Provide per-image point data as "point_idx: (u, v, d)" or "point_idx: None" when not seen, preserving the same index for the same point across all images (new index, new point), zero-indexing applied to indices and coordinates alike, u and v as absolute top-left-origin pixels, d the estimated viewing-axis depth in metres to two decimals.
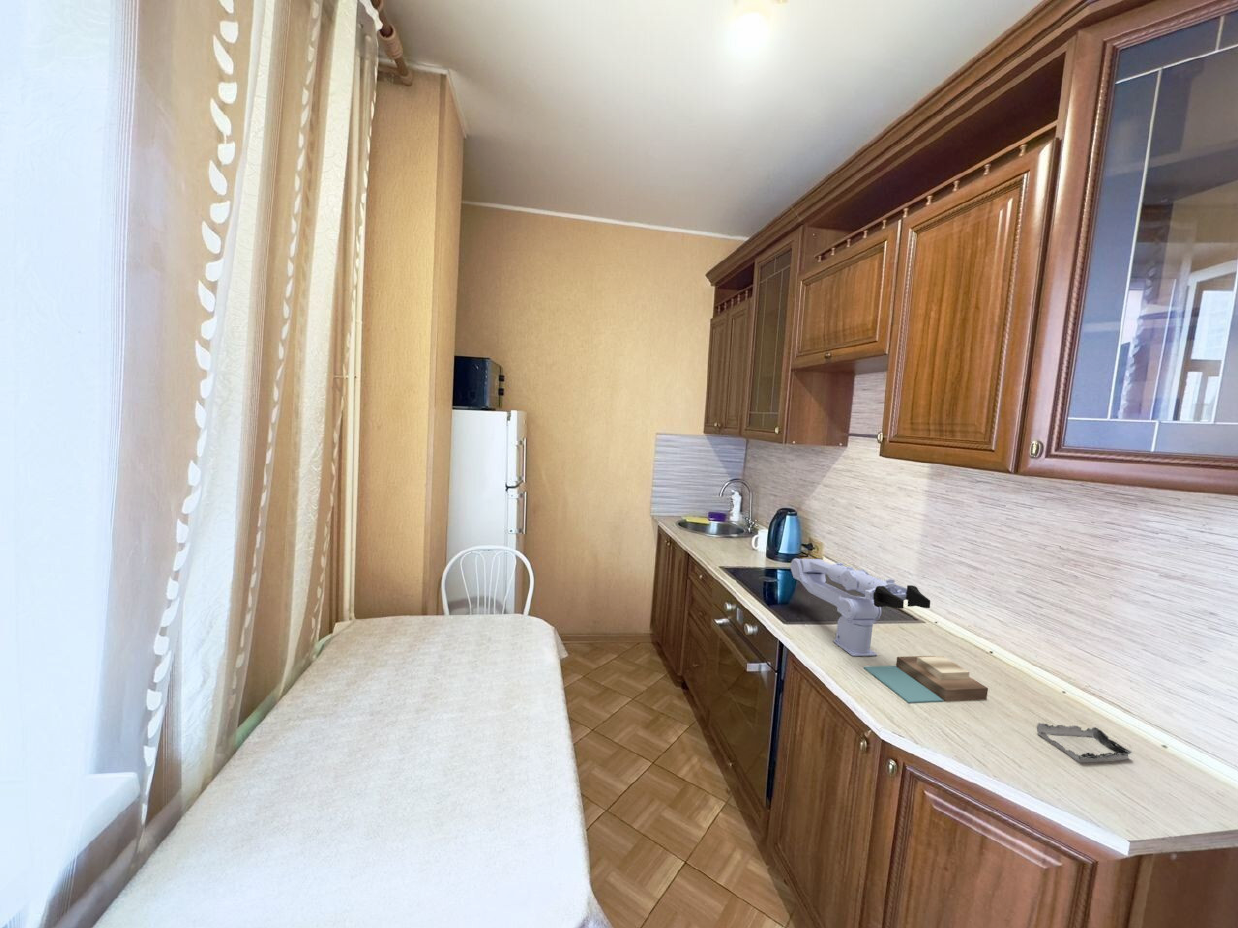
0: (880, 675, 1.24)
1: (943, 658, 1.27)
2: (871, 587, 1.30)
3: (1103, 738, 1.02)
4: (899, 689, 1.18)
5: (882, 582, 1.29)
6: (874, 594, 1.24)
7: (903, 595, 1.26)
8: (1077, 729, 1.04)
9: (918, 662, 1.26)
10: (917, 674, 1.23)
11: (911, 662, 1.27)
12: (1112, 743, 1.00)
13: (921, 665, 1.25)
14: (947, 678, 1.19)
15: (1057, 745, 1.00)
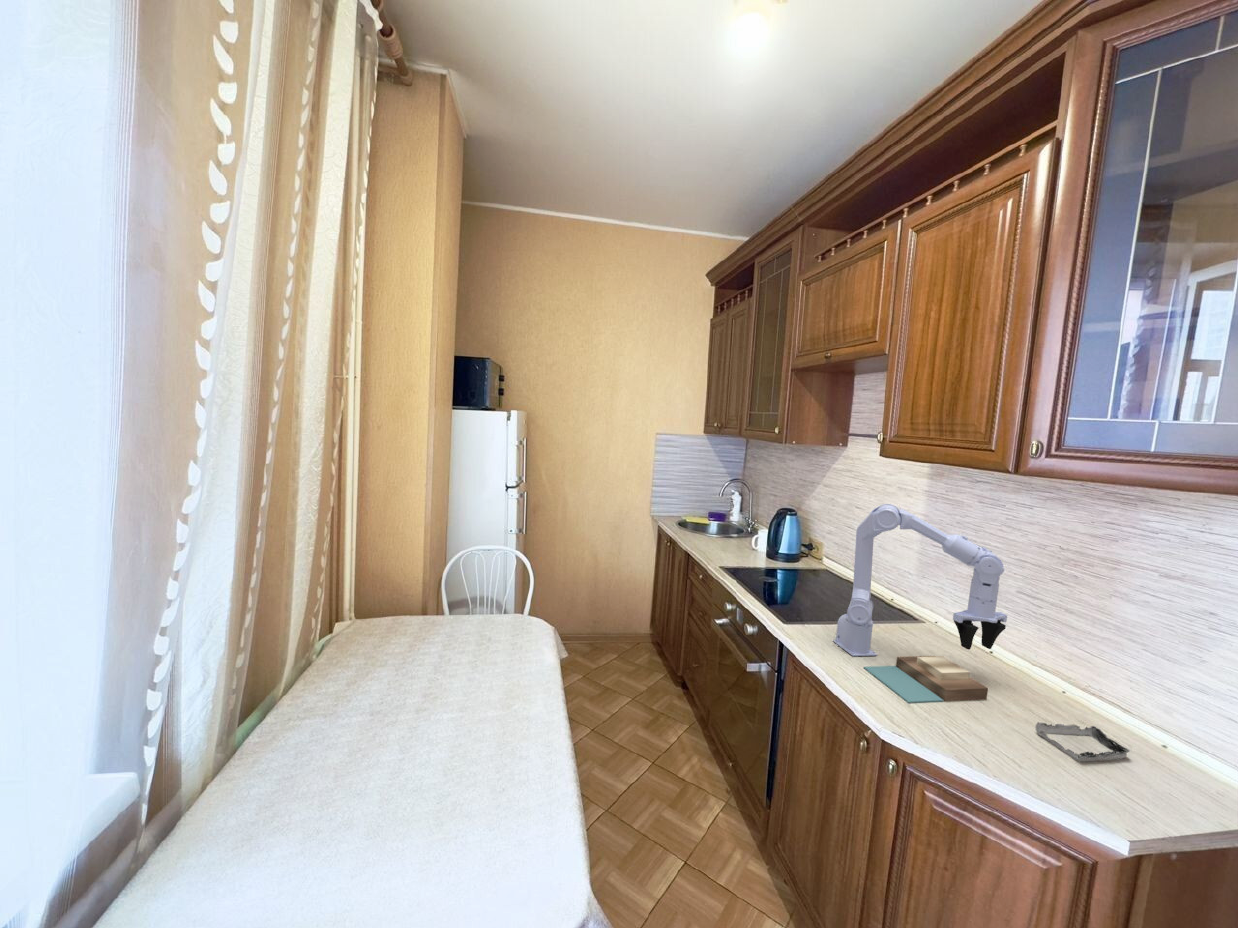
0: (880, 675, 1.24)
1: (943, 658, 1.27)
2: (975, 602, 1.22)
3: (1101, 736, 1.03)
4: (899, 689, 1.18)
5: (987, 613, 1.21)
6: (962, 622, 1.22)
7: None
8: (1076, 728, 1.05)
9: (918, 662, 1.26)
10: (917, 674, 1.23)
11: (911, 662, 1.27)
12: (1110, 742, 1.01)
13: (921, 665, 1.25)
14: (947, 678, 1.19)
15: (1056, 744, 1.00)
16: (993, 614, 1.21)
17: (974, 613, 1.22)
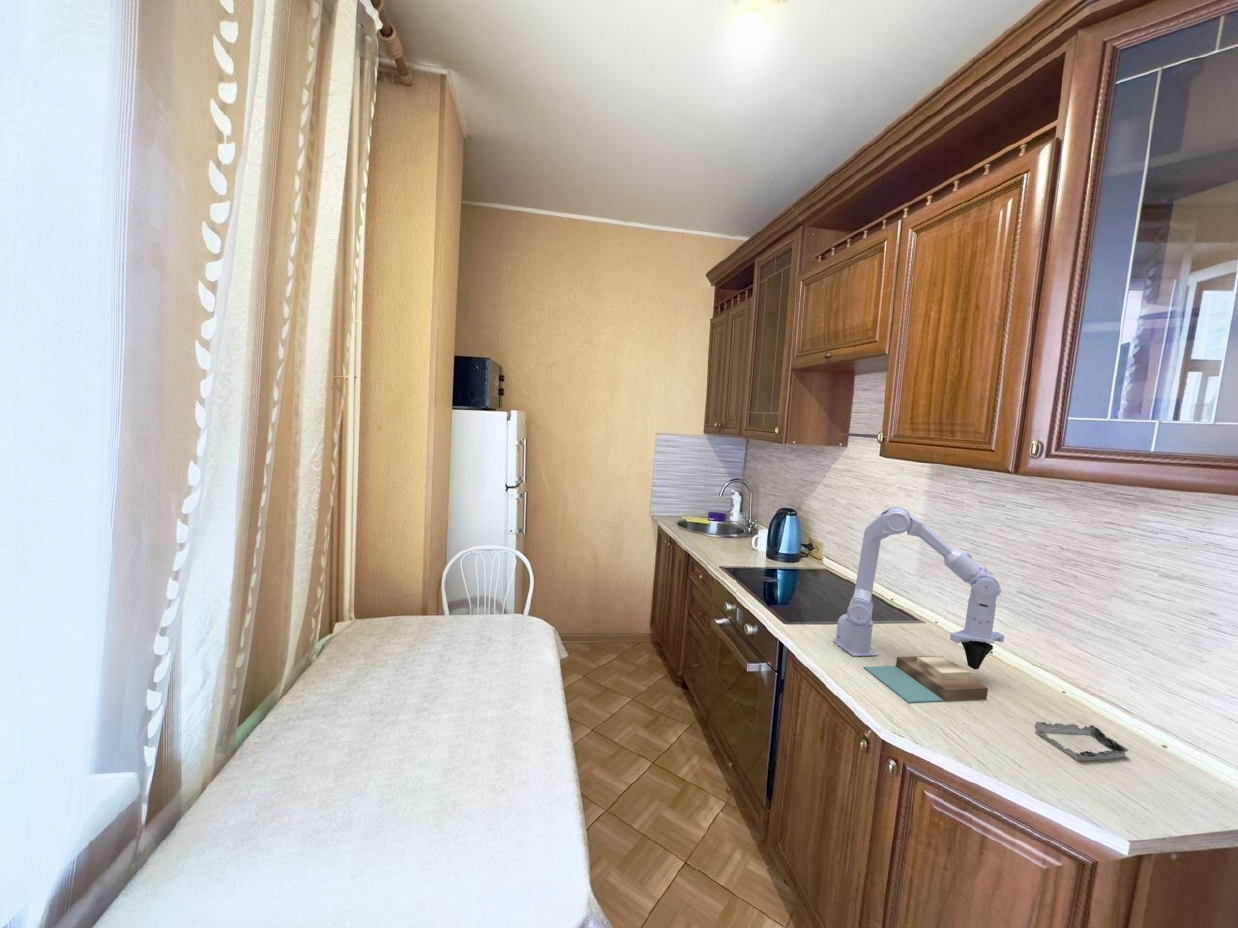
0: (880, 675, 1.24)
1: (943, 658, 1.27)
2: (972, 623, 1.23)
3: (1100, 736, 1.03)
4: (899, 689, 1.18)
5: (984, 633, 1.21)
6: (969, 642, 1.23)
7: None
8: (1074, 727, 1.05)
9: (918, 662, 1.26)
10: (917, 674, 1.23)
11: (911, 662, 1.27)
12: (1109, 741, 1.01)
13: (921, 665, 1.25)
14: (947, 678, 1.19)
15: (1055, 743, 1.00)
16: (990, 635, 1.22)
17: (971, 633, 1.23)
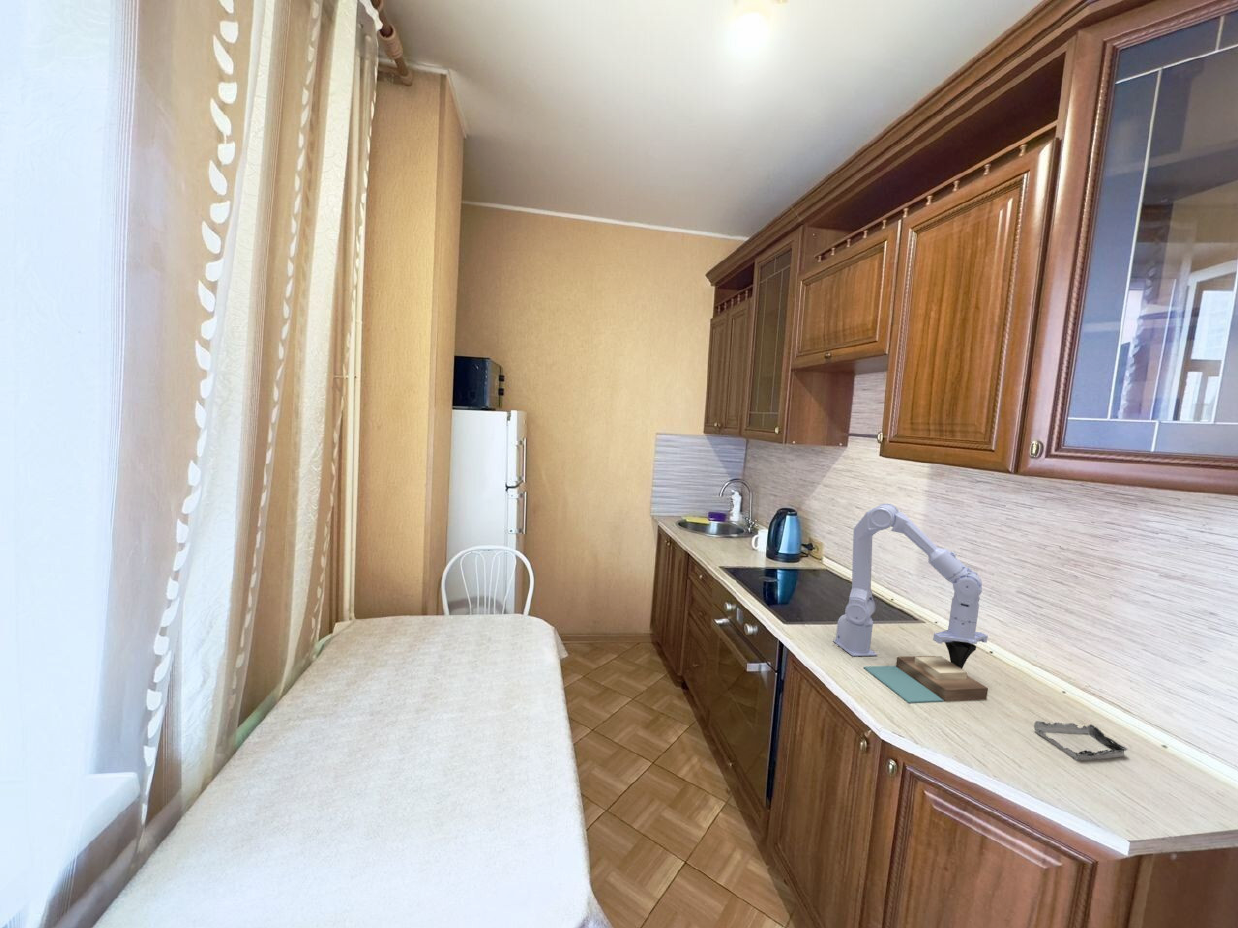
0: (880, 675, 1.24)
1: (941, 658, 1.26)
2: (955, 623, 1.22)
3: (1098, 735, 1.03)
4: (899, 689, 1.18)
5: (967, 633, 1.20)
6: (952, 643, 1.23)
7: None
8: (1073, 726, 1.05)
9: (916, 662, 1.26)
10: (917, 674, 1.23)
11: (911, 662, 1.27)
12: (1108, 740, 1.01)
13: (919, 665, 1.25)
14: (945, 678, 1.19)
15: (1054, 743, 1.01)
16: (973, 635, 1.21)
17: (954, 634, 1.22)
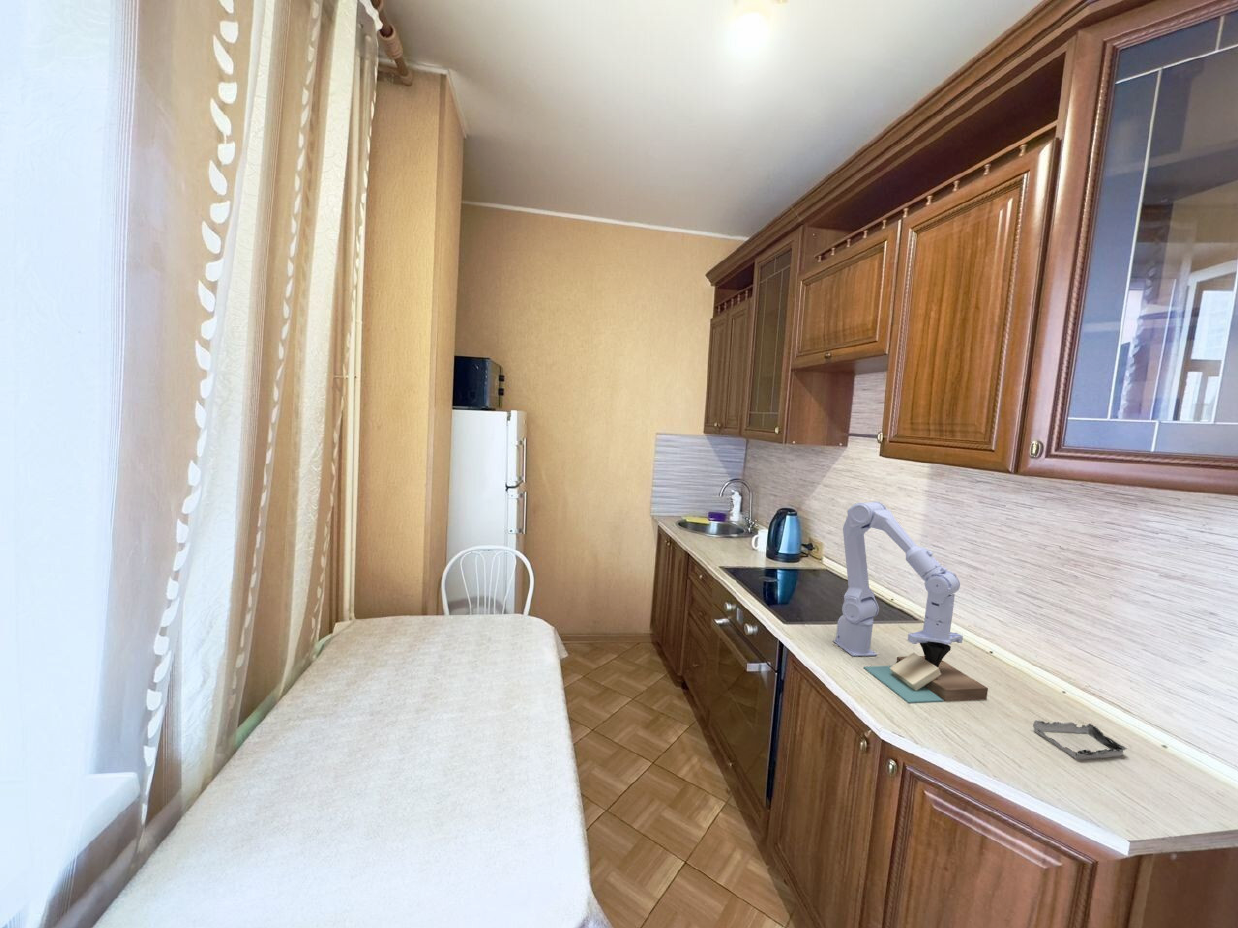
0: (880, 675, 1.24)
1: (914, 656, 1.25)
2: (930, 623, 1.21)
3: (1097, 734, 1.03)
4: (899, 689, 1.18)
5: (941, 634, 1.19)
6: (927, 643, 1.21)
7: None
8: (1073, 725, 1.05)
9: (892, 672, 1.25)
10: None
11: None
12: (1107, 739, 1.01)
13: (896, 675, 1.24)
14: (920, 685, 1.18)
15: (1054, 742, 1.01)
16: (947, 635, 1.19)
17: (929, 634, 1.21)
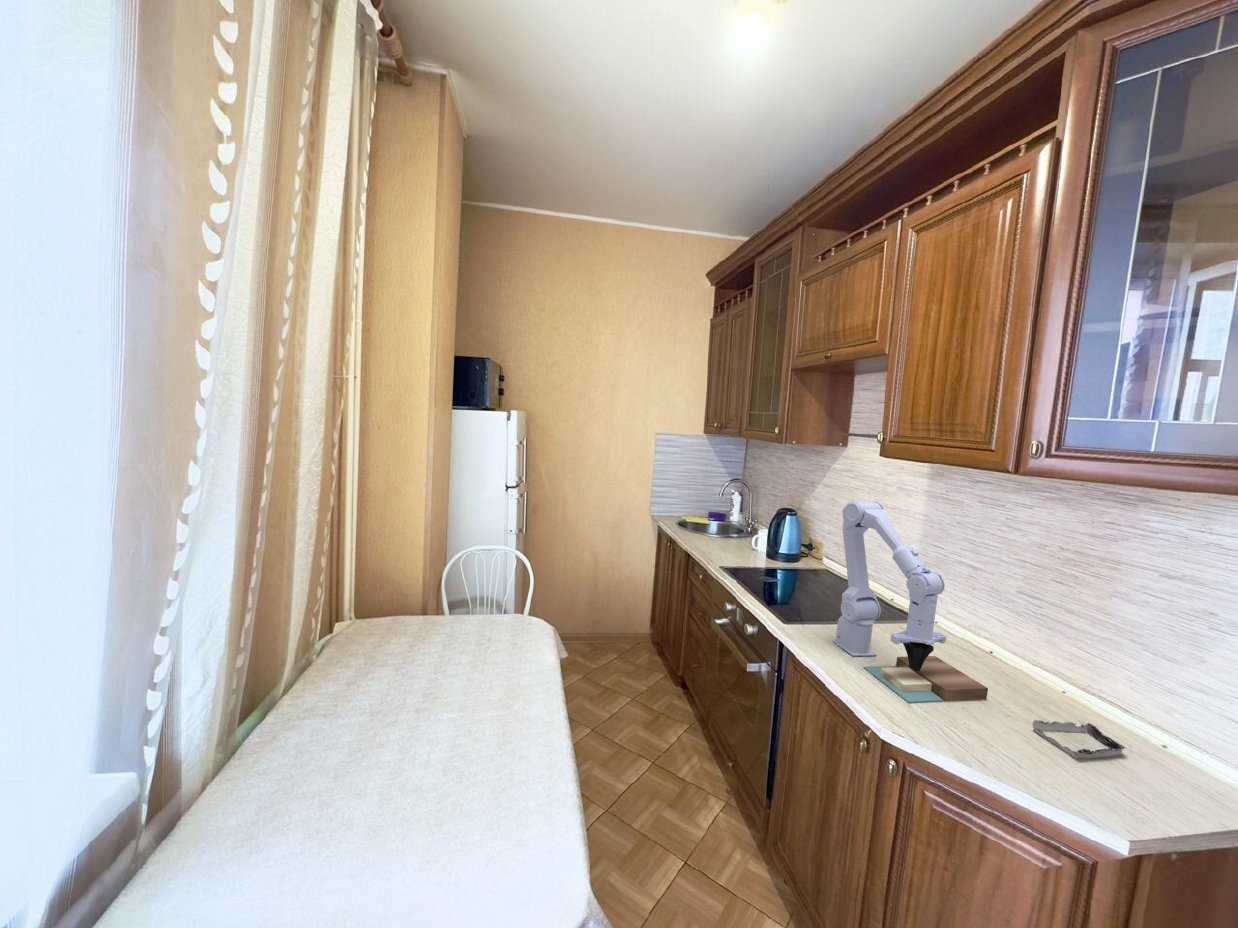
0: (880, 675, 1.24)
1: (907, 669, 1.25)
2: (913, 624, 1.20)
3: (1096, 733, 1.04)
4: None
5: (924, 634, 1.18)
6: (910, 644, 1.20)
7: None
8: (1072, 725, 1.06)
9: (882, 673, 1.24)
10: None
11: None
12: (1106, 739, 1.02)
13: (884, 676, 1.23)
14: (909, 690, 1.17)
15: (1053, 742, 1.01)
16: (930, 636, 1.19)
17: (911, 634, 1.20)
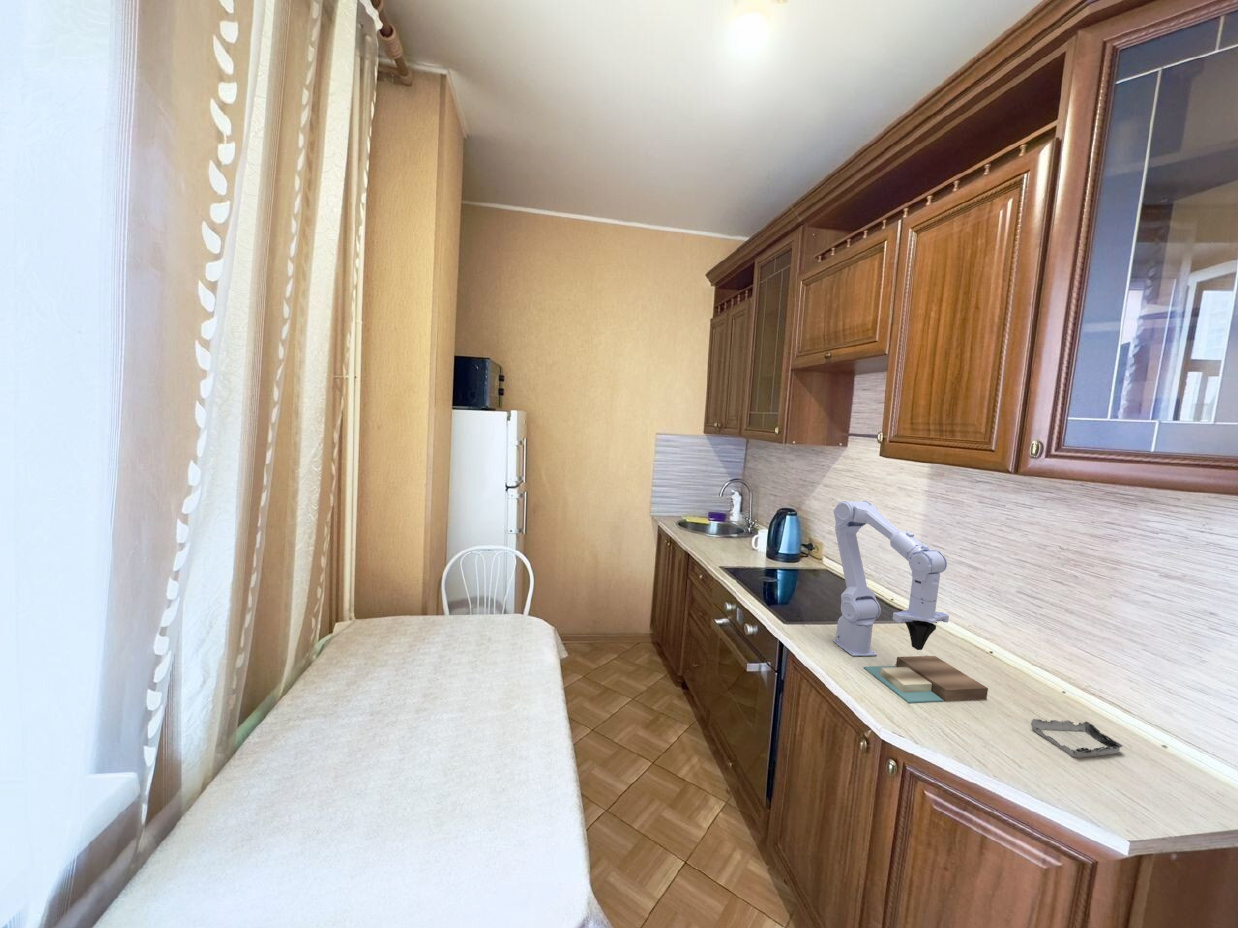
0: (880, 675, 1.24)
1: (907, 669, 1.25)
2: (915, 602, 1.20)
3: (1094, 732, 1.04)
4: None
5: (926, 612, 1.18)
6: (912, 622, 1.20)
7: None
8: (1069, 723, 1.06)
9: (882, 673, 1.24)
10: None
11: (911, 662, 1.27)
12: (1103, 737, 1.02)
13: (884, 676, 1.23)
14: (909, 690, 1.17)
15: (1052, 740, 1.01)
16: (933, 614, 1.18)
17: (914, 613, 1.20)
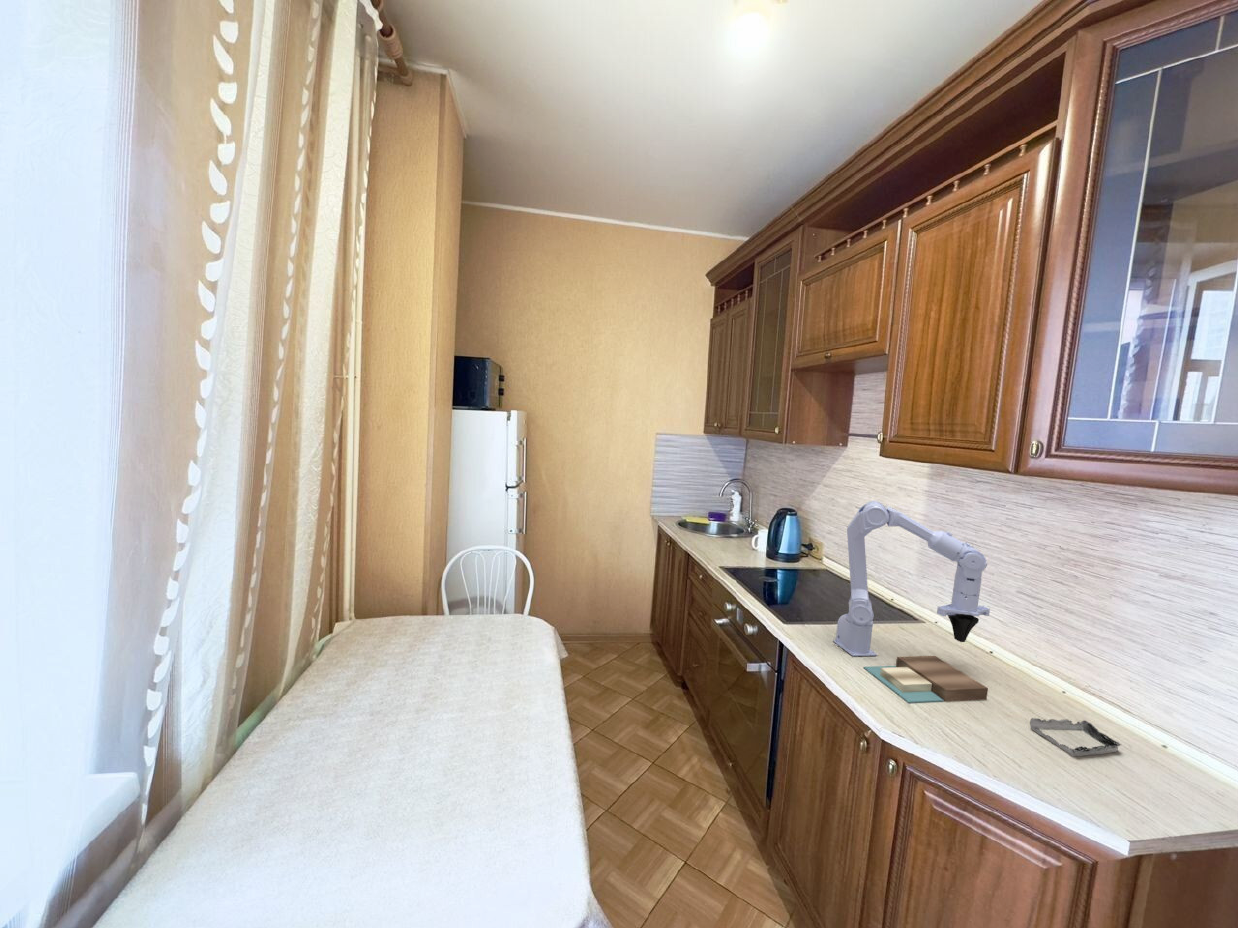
0: (880, 675, 1.24)
1: (907, 669, 1.25)
2: (959, 597, 1.26)
3: (1092, 731, 1.05)
4: None
5: (970, 606, 1.25)
6: (955, 616, 1.27)
7: None
8: (1068, 722, 1.07)
9: (882, 673, 1.24)
10: None
11: (911, 662, 1.27)
12: (1102, 736, 1.02)
13: (884, 676, 1.23)
14: (909, 690, 1.17)
15: (1050, 739, 1.02)
16: (976, 608, 1.25)
17: (957, 607, 1.26)
